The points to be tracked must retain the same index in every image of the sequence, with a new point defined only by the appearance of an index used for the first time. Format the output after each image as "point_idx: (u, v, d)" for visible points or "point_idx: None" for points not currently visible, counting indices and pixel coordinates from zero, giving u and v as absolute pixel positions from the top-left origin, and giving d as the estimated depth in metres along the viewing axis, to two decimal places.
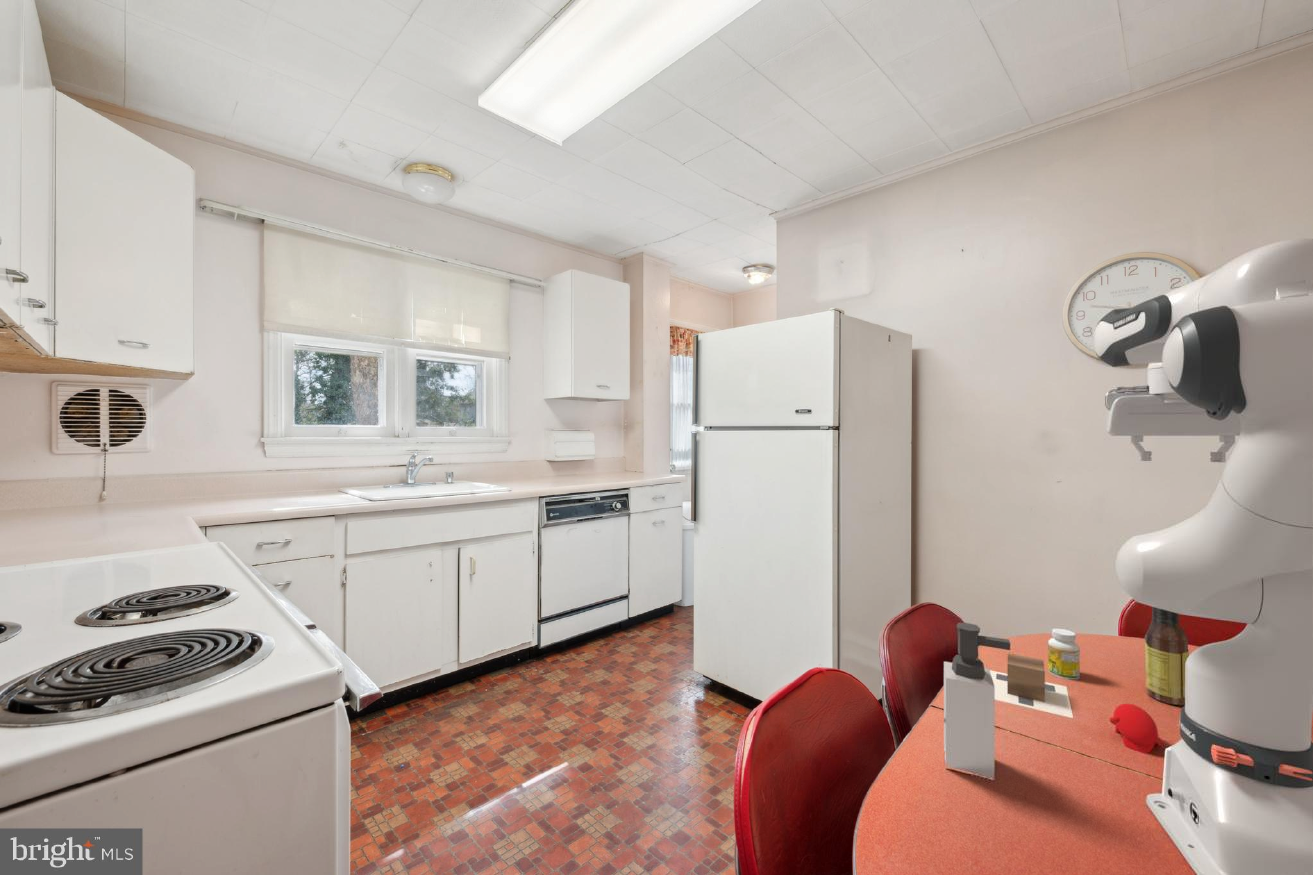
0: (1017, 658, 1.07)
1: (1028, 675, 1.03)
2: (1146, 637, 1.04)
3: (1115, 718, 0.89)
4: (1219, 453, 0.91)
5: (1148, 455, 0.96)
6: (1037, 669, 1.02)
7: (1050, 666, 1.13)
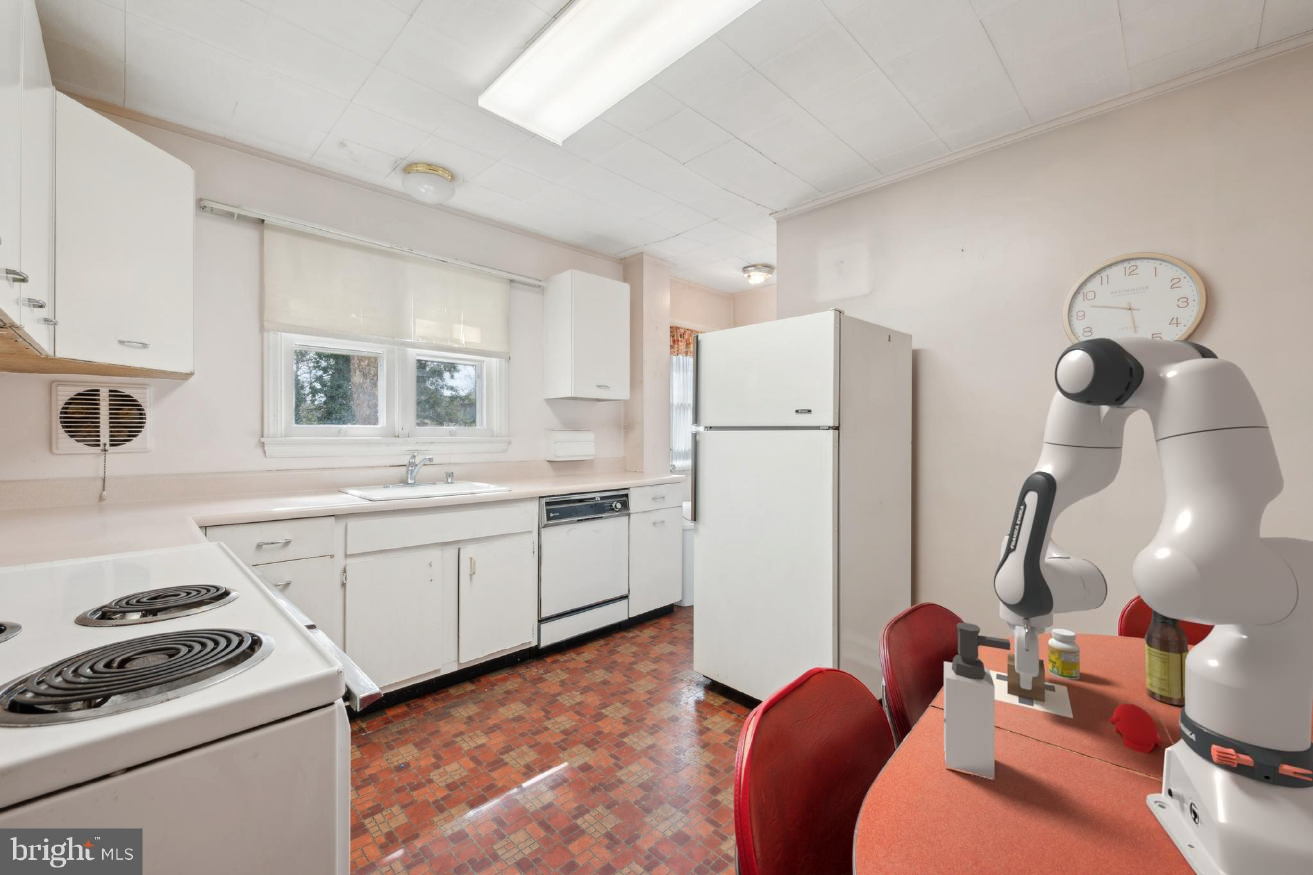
0: None
1: None
2: (1146, 637, 1.04)
3: (1115, 718, 0.89)
4: None
5: None
6: None
7: (1050, 666, 1.13)
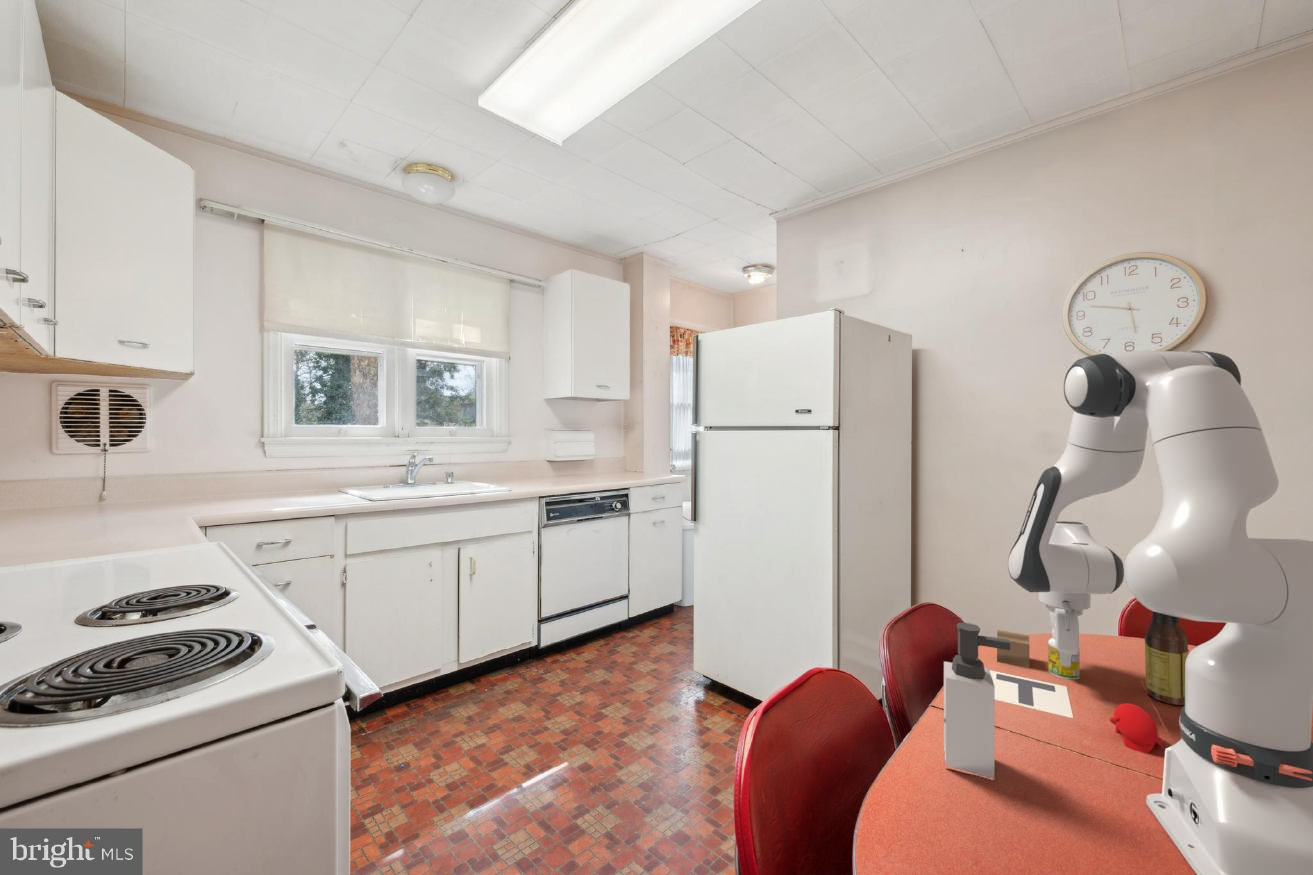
0: (1005, 634, 1.21)
1: (1014, 647, 1.17)
2: (1146, 637, 1.04)
3: (1115, 718, 0.89)
4: None
5: None
6: (1022, 642, 1.16)
7: (1050, 666, 1.13)
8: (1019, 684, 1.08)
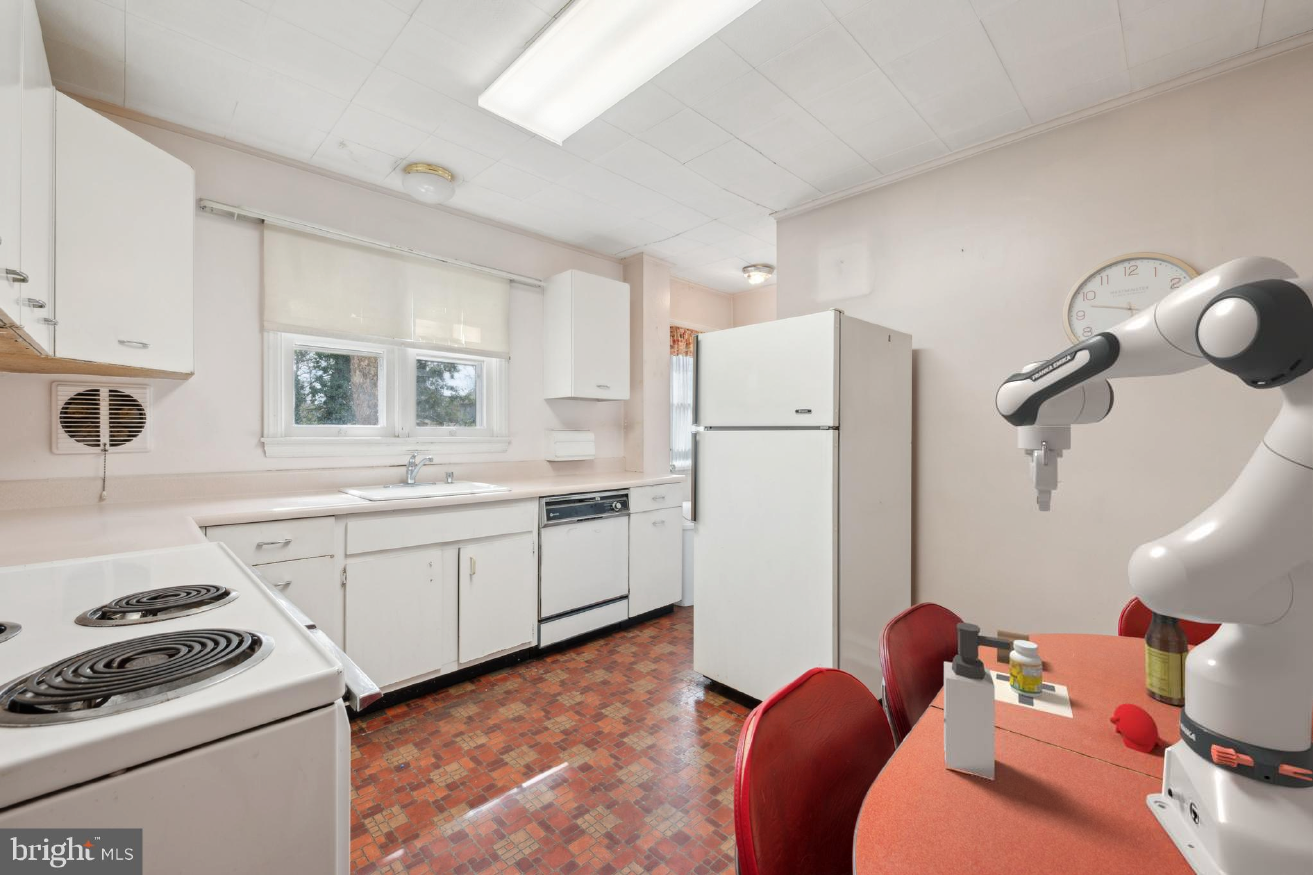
0: (1005, 634, 1.21)
1: None
2: (1146, 637, 1.04)
3: (1115, 718, 0.89)
4: None
5: (1049, 505, 1.04)
6: None
7: (1011, 680, 1.06)
8: None
